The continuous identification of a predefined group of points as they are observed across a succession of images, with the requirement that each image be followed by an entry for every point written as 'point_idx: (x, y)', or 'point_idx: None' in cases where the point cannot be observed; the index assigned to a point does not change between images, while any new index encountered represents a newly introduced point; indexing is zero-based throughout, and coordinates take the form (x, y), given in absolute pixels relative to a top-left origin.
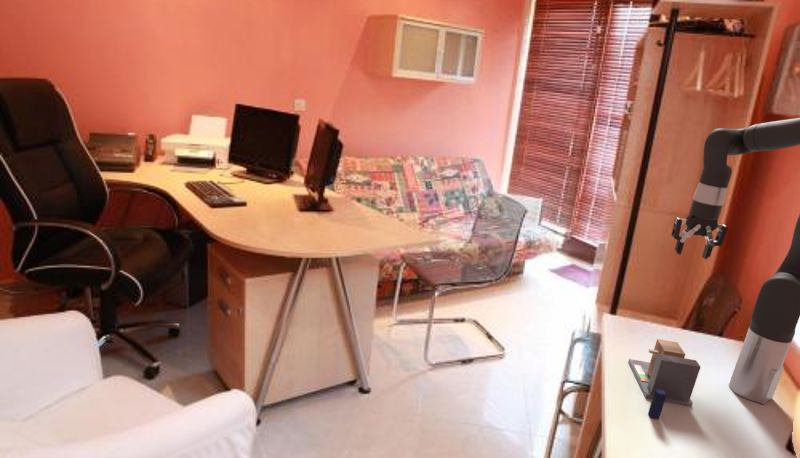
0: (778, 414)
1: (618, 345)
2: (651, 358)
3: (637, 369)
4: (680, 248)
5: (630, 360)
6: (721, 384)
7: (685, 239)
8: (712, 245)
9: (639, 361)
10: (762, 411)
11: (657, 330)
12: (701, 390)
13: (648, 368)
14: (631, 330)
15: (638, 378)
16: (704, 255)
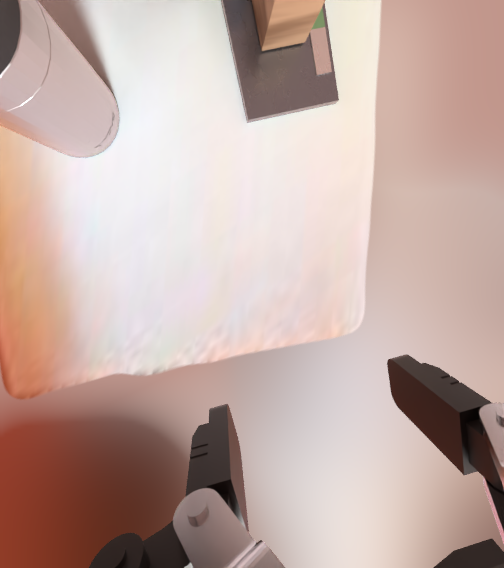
0: None
1: (350, 179)
2: (317, 15)
3: (325, 47)
4: (434, 376)
5: (336, 92)
6: (136, 117)
7: (498, 438)
8: (197, 504)
9: (316, 100)
10: None
11: (261, 320)
12: (183, 54)
13: (308, 34)
14: (318, 280)
15: (324, 4)
16: (232, 430)
